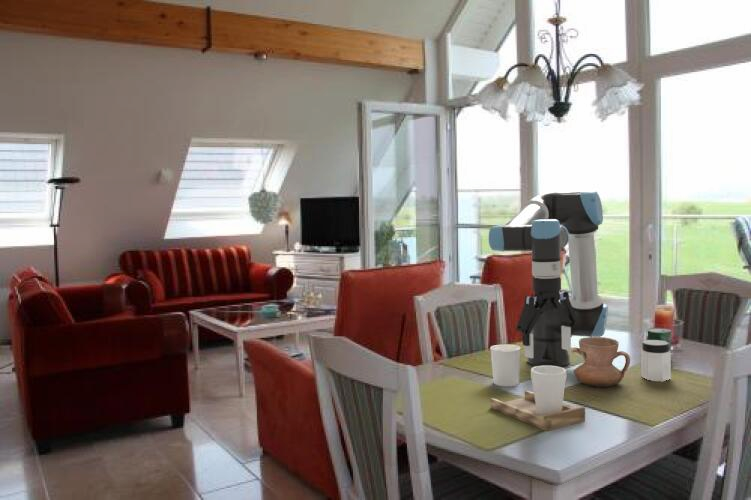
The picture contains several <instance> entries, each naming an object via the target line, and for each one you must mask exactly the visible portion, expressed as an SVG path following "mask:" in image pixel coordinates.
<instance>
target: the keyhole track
mask: <svg viewBox="0 0 751 500" xmlns="http://www.w3.org/2000/svg"><path fill="white" fill-rule="evenodd" d="M490 409H493V410H494V411H497V412H500V413H502V414H504V415H507V416H509V417H511V418H514V419H516V420H519V421H521V422H524V423H526V424H528V425H530V426H533V427H536V428H537V429H540V430H543V431H545V432H548V431H552V430H557V429H559V428H563V427H567V426H572V425H575V424H579V423H582V422H586V407H585V406H583V405H582V406H578V407H575V406H573V405H571V404H567V403H564V402H563V405H562V411H561V412H558V413H554V414H550V415H546V416H541V415H539V414H537V410H536V403H535V397H534V391H530V390H528V389H527V390H524V397H522V398H521V397H520V398H516V399H512V400H508V401H502V400H499V399H497V398H494V397H491V398H490Z"/></svg>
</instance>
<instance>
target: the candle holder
mask: <svg viewBox="0 0 751 500" xmlns="http://www.w3.org/2000/svg"><path fill="white" fill-rule="evenodd" d="M489 349H490V355H491V356H490V357H491V370H492V379H493V384H494V385H495V386H499V387H504V388H505V387H506V388H507V387H508V388H509V387H510V388H511V387H516V386H518V385H519V384H520V373H521V372H520V370H521V350H522V348H521V346H519V345H516V344H509V343H504V344H496V345H491V346H490V348H489Z"/></svg>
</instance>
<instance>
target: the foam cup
mask: <svg viewBox="0 0 751 500" xmlns="http://www.w3.org/2000/svg"><path fill="white" fill-rule="evenodd" d="M530 379H531V382H532V388H533V389H532V390H533V393H534V397H535V403H536V410H537V414H539V415H541V416H546V415H550V414H554V413H558V412H561V411H562V405H563V403H564V395H565V389H566V388H565V387H566V380H567V369H566V368H564V367H563V366H536V365H535V366H533V367H531V369H530Z"/></svg>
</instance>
